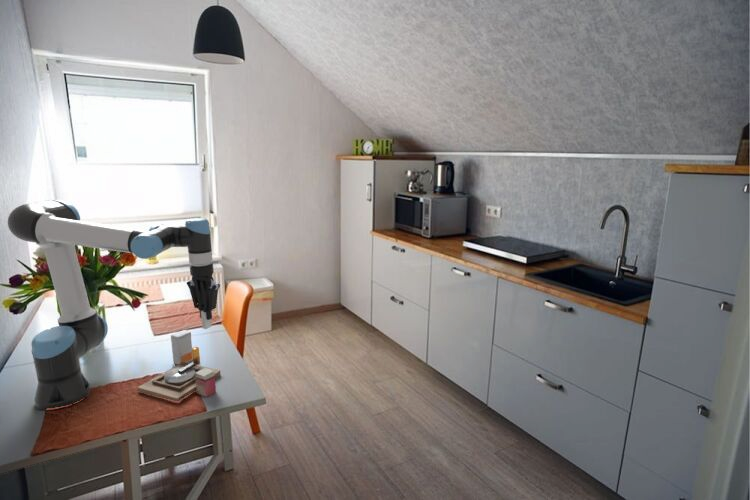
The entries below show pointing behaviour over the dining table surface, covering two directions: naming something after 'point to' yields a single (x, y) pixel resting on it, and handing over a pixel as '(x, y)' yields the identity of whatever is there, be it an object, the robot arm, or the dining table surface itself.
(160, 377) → the beige square board
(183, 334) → the skincare box
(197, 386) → the small box
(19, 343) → the dining table surface
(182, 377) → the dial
